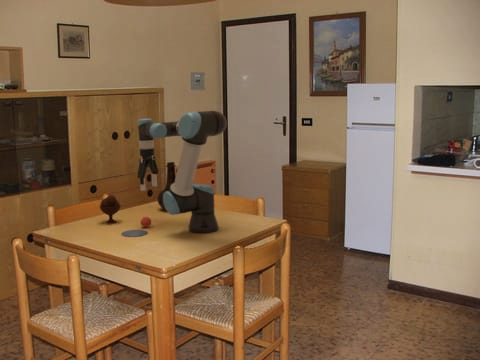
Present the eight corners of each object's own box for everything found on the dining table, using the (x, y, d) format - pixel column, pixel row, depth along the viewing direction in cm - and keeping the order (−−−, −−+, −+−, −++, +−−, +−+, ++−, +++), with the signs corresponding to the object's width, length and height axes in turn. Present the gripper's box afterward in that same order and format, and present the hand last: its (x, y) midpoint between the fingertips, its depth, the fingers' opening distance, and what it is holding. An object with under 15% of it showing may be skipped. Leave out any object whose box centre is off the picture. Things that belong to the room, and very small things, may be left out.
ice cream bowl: (123, 219, 312) (122, 193, 309) (117, 224, 301) (115, 197, 299) (104, 219, 313) (103, 193, 311) (98, 224, 302) (96, 197, 300)
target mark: (153, 232, 285) (153, 232, 285) (133, 238, 275) (133, 238, 274) (135, 228, 292) (135, 228, 292) (115, 234, 282) (115, 234, 282)
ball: (153, 226, 296) (153, 216, 295) (146, 229, 291) (145, 218, 290) (146, 225, 299) (145, 215, 298) (138, 227, 295) (138, 217, 294)
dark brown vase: (183, 213, 325) (181, 164, 320) (153, 212, 328) (151, 164, 323) (192, 206, 342) (190, 160, 337) (163, 205, 346) (161, 160, 341)
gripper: (150, 145, 310) (152, 184, 314) (129, 151, 287) (131, 192, 290) (163, 145, 308) (165, 184, 311) (142, 151, 284) (145, 192, 288)
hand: (149, 188), depth 301 cm, fingers open, 13 cm apart
